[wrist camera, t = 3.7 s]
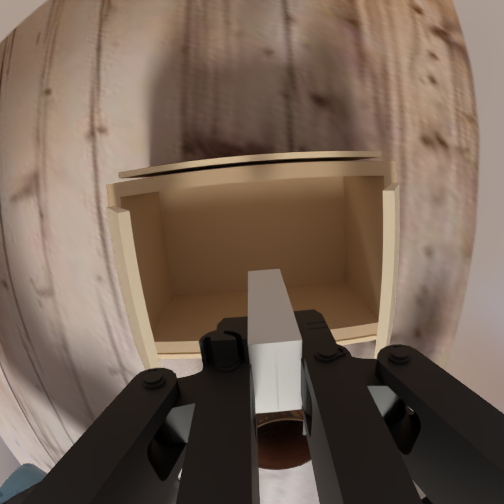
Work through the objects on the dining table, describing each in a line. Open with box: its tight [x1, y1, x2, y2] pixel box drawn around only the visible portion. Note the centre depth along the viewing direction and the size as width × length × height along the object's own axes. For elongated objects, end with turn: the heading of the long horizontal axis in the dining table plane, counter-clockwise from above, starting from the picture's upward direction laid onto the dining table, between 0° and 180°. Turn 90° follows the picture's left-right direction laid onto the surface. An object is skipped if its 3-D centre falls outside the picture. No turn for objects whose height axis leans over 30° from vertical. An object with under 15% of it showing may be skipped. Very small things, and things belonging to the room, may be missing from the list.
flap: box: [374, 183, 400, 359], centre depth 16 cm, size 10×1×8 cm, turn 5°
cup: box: [256, 405, 311, 470], centre depth 30 cm, size 9×9×10 cm
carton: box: [106, 151, 397, 359], centre depth 25 cm, size 20×14×10 cm
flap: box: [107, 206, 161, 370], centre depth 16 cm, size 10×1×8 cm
